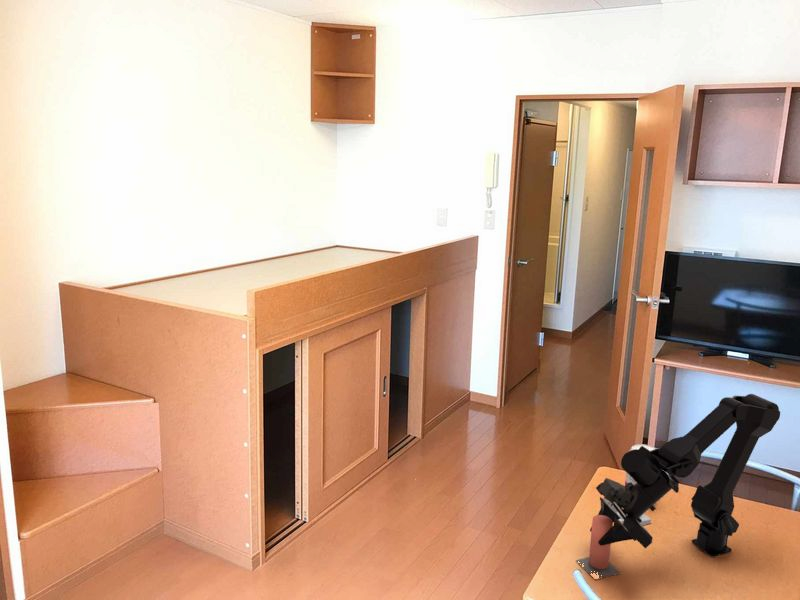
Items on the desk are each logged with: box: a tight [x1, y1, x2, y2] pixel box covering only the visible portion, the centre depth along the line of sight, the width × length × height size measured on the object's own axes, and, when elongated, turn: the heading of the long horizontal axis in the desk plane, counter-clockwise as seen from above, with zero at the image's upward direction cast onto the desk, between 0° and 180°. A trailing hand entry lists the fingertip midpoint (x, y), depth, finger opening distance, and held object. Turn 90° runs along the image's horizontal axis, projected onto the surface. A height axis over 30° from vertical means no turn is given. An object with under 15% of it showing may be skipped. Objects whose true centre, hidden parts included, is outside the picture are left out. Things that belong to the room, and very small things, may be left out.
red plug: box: [588, 514, 614, 569], centre depth 147 cm, size 4×4×11 cm
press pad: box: [575, 556, 621, 579], centre depth 148 cm, size 7×7×1 cm
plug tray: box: [617, 512, 652, 526], centre depth 166 cm, size 8×6×4 cm
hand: (595, 537), depth 146 cm, fingers closed on red plug, 4 cm apart
